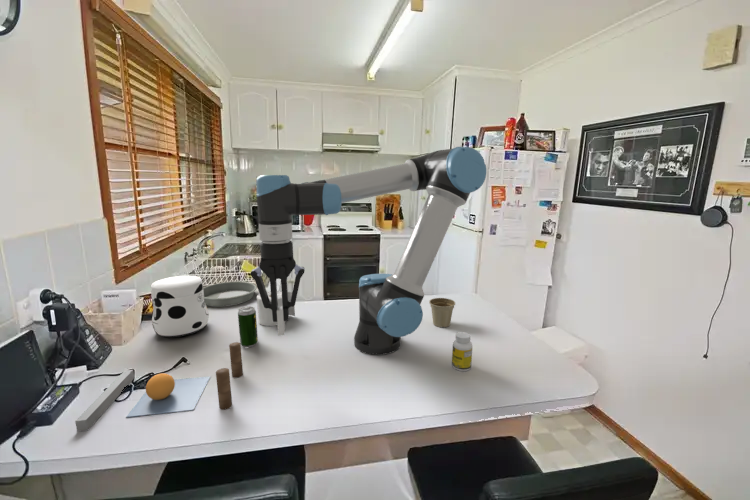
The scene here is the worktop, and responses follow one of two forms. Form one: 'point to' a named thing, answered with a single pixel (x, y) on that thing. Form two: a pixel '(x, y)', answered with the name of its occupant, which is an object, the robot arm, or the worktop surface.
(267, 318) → the toilet tissue
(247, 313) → the beer can
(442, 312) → the flower pot
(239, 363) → the post
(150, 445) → the worktop surface
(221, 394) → the post
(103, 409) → the wall
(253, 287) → the cake pan
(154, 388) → the ball
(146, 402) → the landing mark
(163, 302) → the milk container
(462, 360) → the supplement bottle
